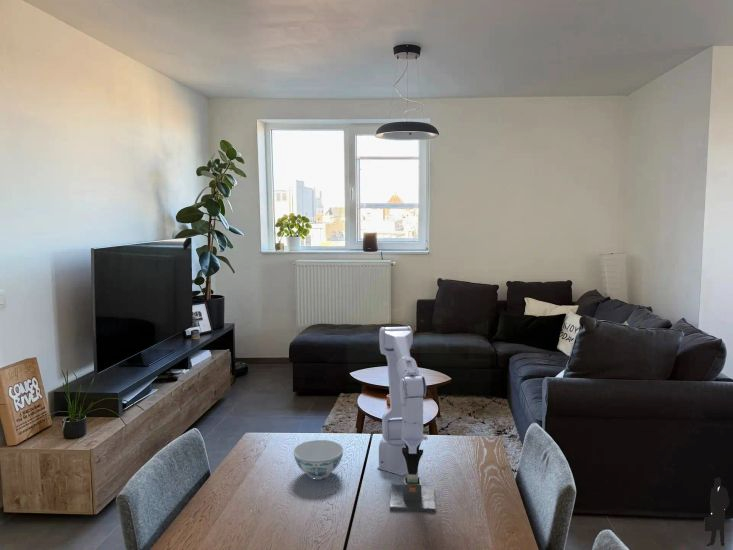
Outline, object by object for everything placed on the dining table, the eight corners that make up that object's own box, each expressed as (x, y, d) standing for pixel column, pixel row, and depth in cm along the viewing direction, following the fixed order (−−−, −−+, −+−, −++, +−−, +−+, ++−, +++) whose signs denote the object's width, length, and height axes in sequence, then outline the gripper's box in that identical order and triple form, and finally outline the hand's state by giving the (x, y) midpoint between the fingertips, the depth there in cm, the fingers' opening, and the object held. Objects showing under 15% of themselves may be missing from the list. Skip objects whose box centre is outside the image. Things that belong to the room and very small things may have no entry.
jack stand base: (389, 510, 140) (389, 490, 139) (391, 488, 152) (391, 469, 151) (435, 512, 139) (435, 492, 138) (433, 489, 150) (433, 471, 150)
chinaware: (284, 481, 156) (284, 455, 155) (308, 460, 170) (308, 437, 169) (330, 490, 151) (329, 464, 150) (351, 468, 164) (351, 444, 164)
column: (406, 487, 143) (406, 459, 143) (407, 482, 146) (407, 455, 146) (418, 488, 143) (418, 460, 142) (417, 482, 146) (418, 455, 145)
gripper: (428, 430, 135) (428, 481, 137) (426, 410, 150) (426, 457, 151) (400, 429, 136) (400, 480, 137) (401, 410, 150) (401, 456, 152)
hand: (412, 468), depth 144 cm, fingers open, 6 cm apart
